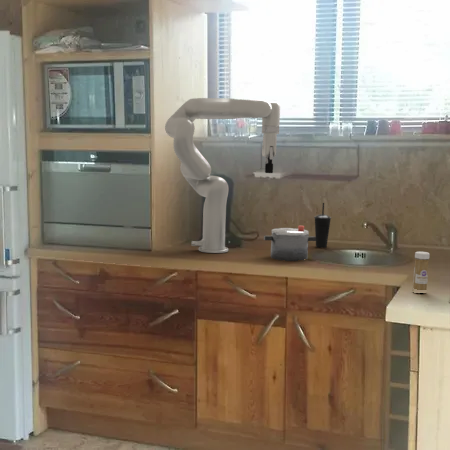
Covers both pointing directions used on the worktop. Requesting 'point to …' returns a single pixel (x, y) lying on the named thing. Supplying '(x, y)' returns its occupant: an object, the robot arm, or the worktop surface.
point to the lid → (290, 231)
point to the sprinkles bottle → (421, 270)
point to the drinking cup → (322, 229)
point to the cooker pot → (289, 247)
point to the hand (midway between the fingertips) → (268, 172)
